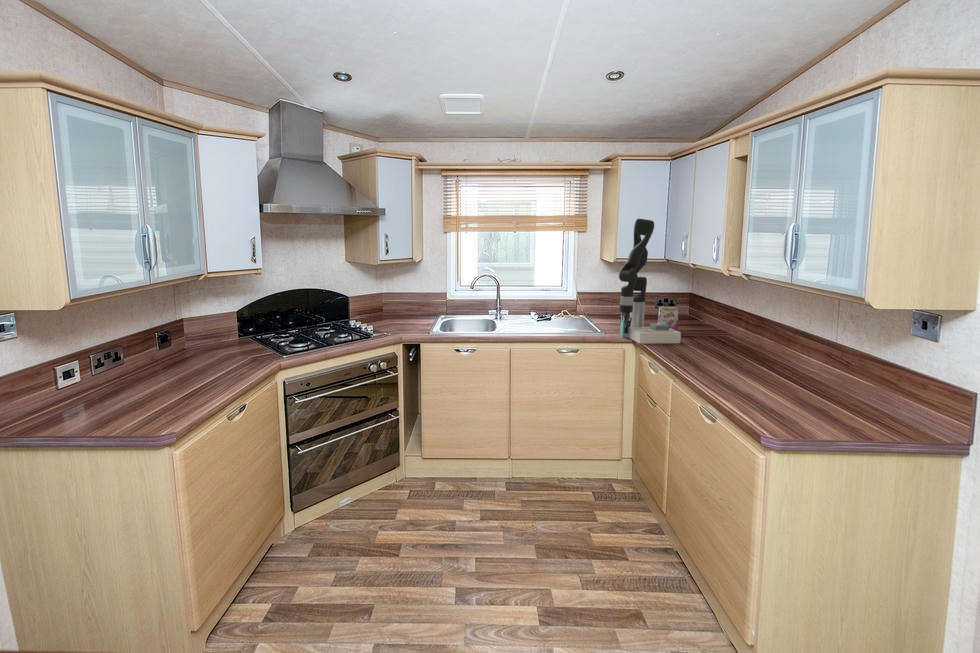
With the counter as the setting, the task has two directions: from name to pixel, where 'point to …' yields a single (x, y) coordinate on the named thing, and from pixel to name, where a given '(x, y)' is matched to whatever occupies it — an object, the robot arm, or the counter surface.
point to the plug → (623, 330)
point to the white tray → (654, 335)
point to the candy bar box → (669, 316)
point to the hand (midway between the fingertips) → (624, 332)
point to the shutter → (659, 326)
